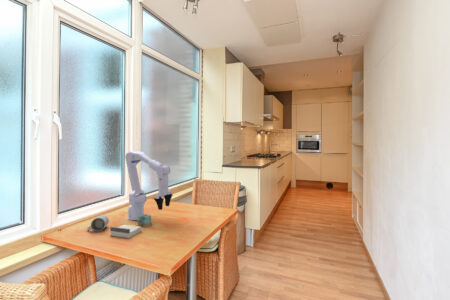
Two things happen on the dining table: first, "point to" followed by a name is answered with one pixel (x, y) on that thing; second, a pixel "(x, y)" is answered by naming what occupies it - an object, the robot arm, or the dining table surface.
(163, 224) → the dining table surface
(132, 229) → the dock
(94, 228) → the ceramic mug
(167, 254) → the dining table surface
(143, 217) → the teal rectangular block
